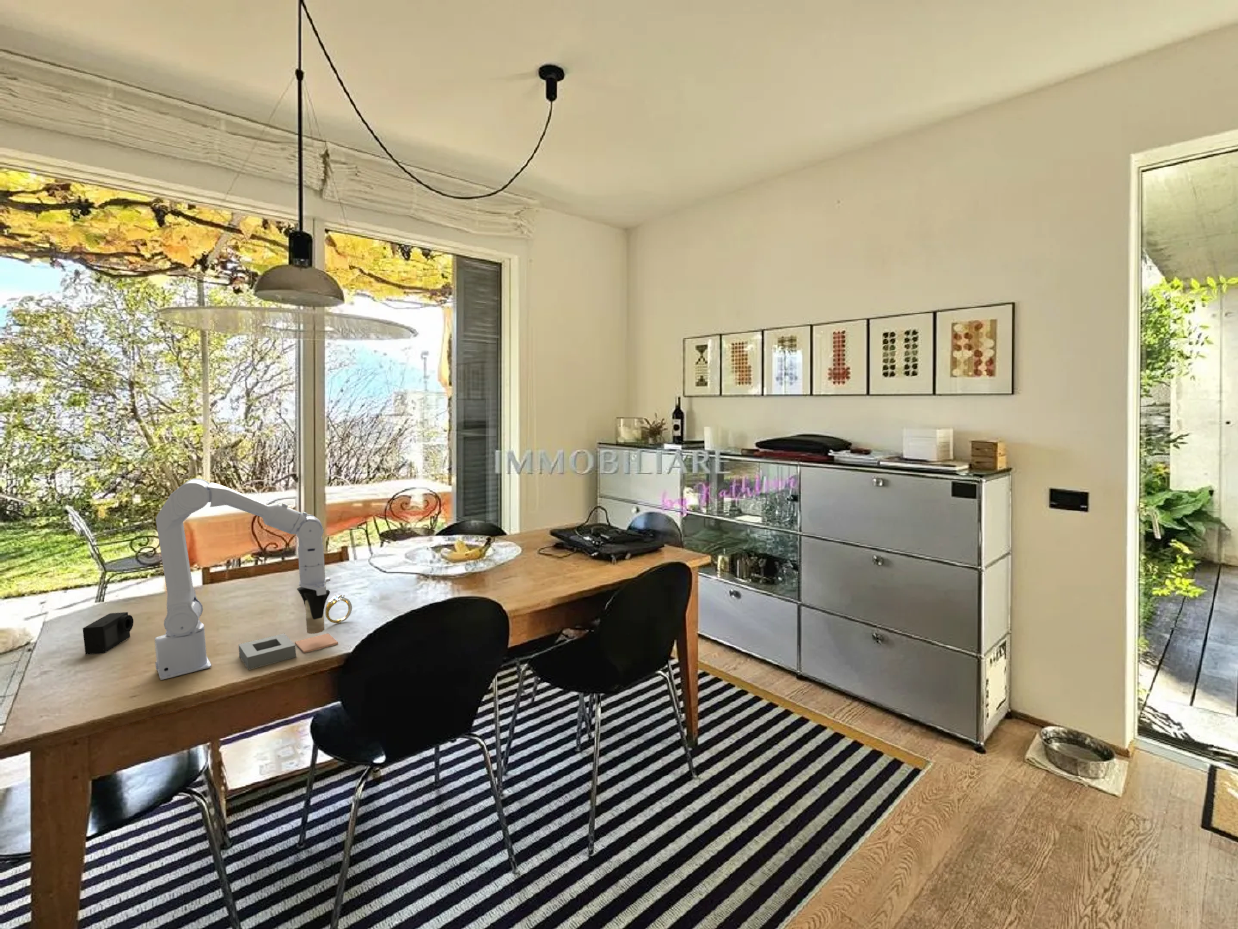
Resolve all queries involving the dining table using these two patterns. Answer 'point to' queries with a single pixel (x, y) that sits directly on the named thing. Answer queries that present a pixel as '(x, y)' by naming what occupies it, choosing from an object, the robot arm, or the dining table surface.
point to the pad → (316, 643)
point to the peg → (313, 621)
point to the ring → (335, 599)
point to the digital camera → (107, 632)
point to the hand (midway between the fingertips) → (314, 615)
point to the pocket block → (267, 651)
